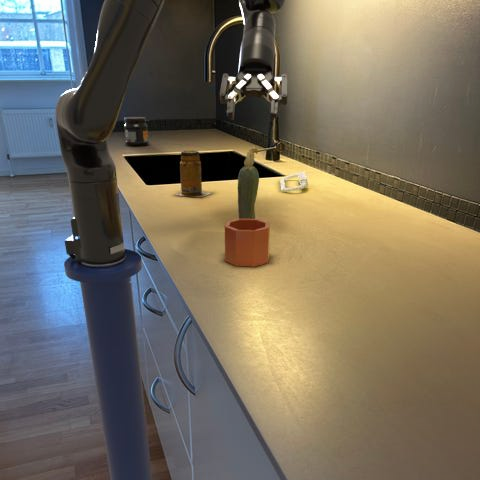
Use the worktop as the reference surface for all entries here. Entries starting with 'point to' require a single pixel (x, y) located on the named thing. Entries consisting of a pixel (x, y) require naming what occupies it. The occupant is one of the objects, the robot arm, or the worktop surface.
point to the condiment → (191, 175)
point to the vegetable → (248, 186)
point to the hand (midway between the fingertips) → (251, 117)
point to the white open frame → (301, 178)
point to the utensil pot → (247, 242)
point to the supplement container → (136, 131)
